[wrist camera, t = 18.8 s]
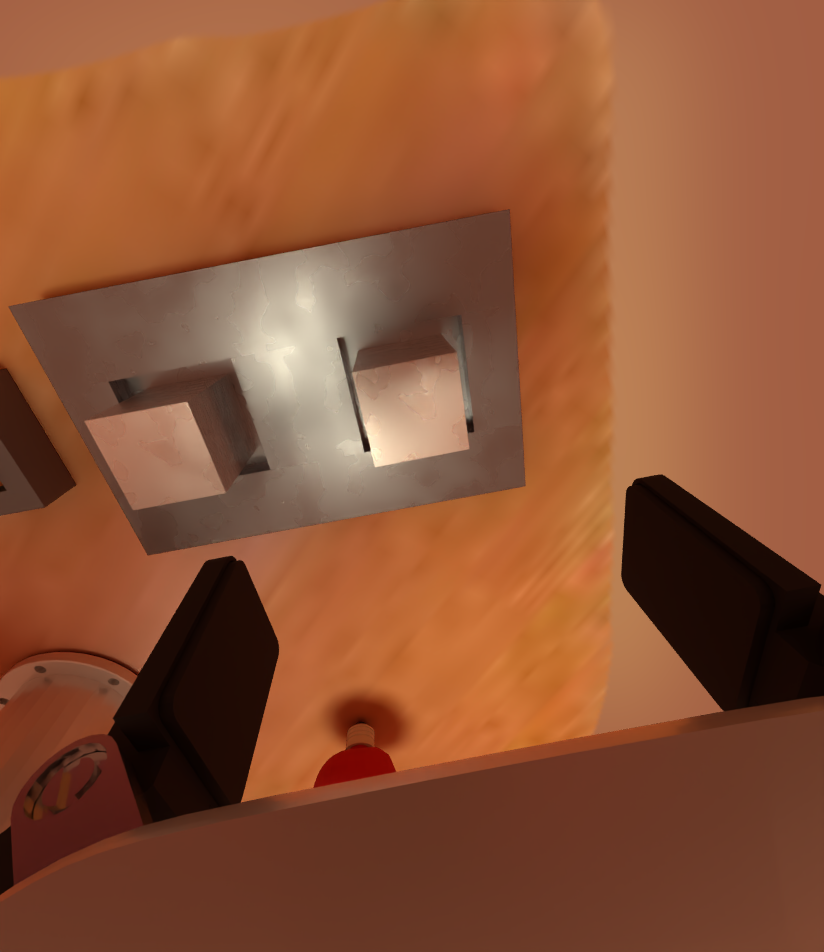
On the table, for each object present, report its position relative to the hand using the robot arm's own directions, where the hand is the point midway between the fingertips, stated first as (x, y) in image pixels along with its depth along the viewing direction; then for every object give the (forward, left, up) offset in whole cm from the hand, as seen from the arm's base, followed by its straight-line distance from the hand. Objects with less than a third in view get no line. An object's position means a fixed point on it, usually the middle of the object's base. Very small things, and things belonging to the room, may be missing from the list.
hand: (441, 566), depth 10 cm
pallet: (0, +6, -19) cm, 20 cm away
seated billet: (0, +13, -18) cm, 22 cm away
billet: (0, 0, -18) cm, 18 cm away
